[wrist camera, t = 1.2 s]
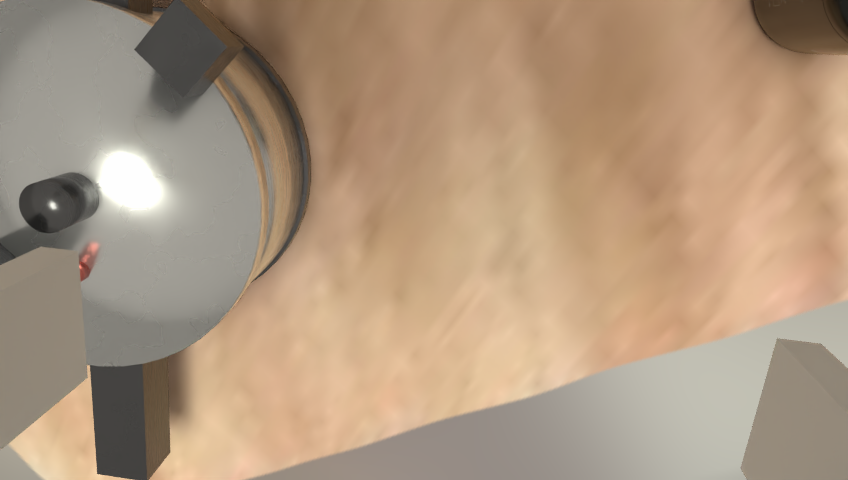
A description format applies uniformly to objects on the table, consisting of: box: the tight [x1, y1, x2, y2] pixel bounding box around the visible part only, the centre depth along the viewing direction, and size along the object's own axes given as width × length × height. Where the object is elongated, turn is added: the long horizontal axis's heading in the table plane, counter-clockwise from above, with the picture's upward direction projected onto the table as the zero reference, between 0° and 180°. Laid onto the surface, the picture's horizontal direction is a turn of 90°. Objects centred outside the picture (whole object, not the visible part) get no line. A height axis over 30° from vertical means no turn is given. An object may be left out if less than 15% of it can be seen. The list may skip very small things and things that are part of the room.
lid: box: [0, 0, 269, 366], centre depth 32 cm, size 30×19×6 cm, turn 135°
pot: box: [90, 0, 311, 480], centre depth 39 cm, size 31×18×8 cm, turn 175°
